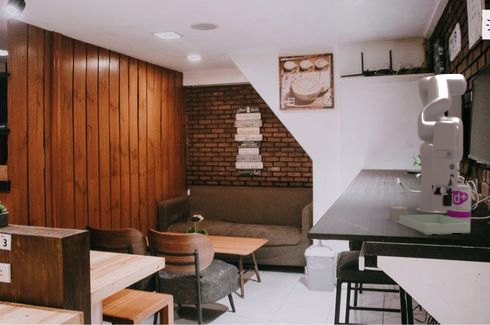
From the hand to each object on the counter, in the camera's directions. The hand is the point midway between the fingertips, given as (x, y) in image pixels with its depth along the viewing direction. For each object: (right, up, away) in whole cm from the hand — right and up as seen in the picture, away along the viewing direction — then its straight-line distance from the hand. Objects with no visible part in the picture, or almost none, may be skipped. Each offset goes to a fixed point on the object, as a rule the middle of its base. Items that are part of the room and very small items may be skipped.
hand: (442, 204), depth 166 cm
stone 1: (-12, -8, +14) cm, 20 cm away
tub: (-3, -9, 0) cm, 10 cm away
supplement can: (+10, -9, +10) cm, 17 cm away
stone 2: (0, -2, 0) cm, 2 cm away
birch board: (-8, -8, +15) cm, 18 cm away
